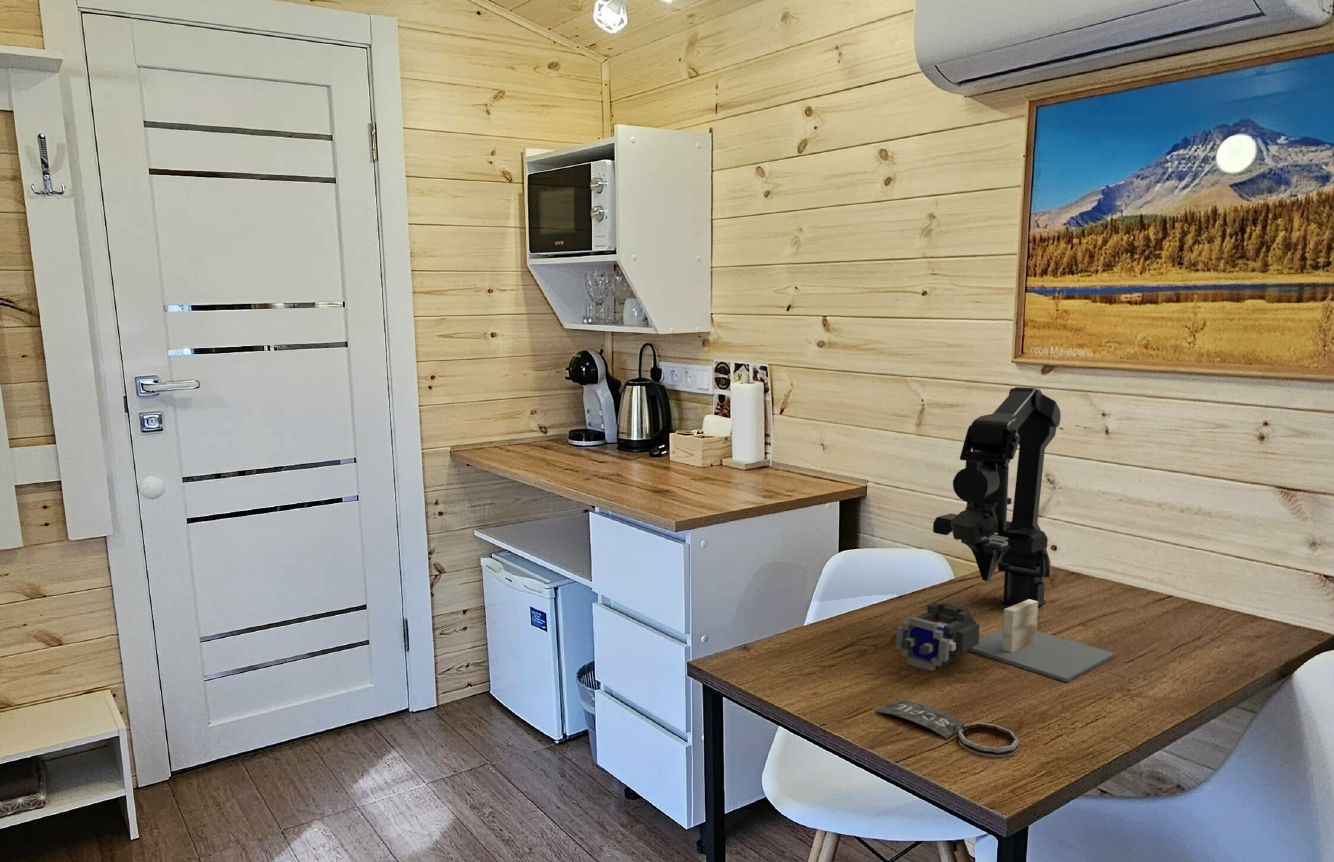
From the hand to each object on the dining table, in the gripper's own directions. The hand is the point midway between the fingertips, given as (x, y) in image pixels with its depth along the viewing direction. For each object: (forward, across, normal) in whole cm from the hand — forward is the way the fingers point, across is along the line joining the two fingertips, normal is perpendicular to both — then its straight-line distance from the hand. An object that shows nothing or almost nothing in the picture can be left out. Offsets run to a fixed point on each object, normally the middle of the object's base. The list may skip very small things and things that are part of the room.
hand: (986, 580), depth 154 cm
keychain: (+11, +16, -35) cm, 40 cm away
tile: (+10, +7, -1) cm, 12 cm away
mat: (+10, +10, 0) cm, 14 cm away
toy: (+10, +2, -17) cm, 20 cm away
